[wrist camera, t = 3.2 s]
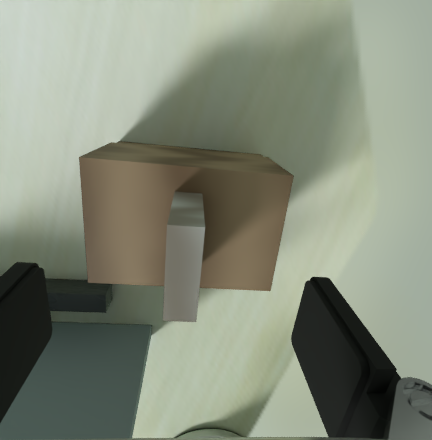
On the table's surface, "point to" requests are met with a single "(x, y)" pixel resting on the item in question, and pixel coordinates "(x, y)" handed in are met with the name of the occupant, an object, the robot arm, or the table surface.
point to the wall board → (82, 384)
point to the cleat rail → (78, 295)
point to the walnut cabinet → (182, 220)
